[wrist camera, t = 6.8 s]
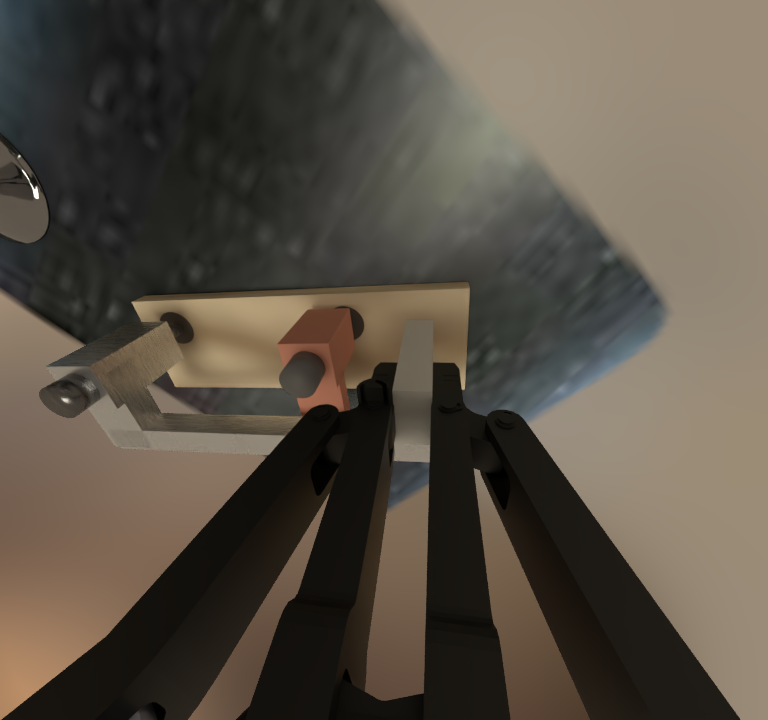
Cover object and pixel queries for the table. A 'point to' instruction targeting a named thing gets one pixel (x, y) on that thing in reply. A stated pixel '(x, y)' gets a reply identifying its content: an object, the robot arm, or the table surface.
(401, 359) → the robot arm
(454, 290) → the bolt plate
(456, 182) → the table surface
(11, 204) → the wine glass
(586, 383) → the table surface
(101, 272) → the table surface
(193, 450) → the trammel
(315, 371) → the slide leg
